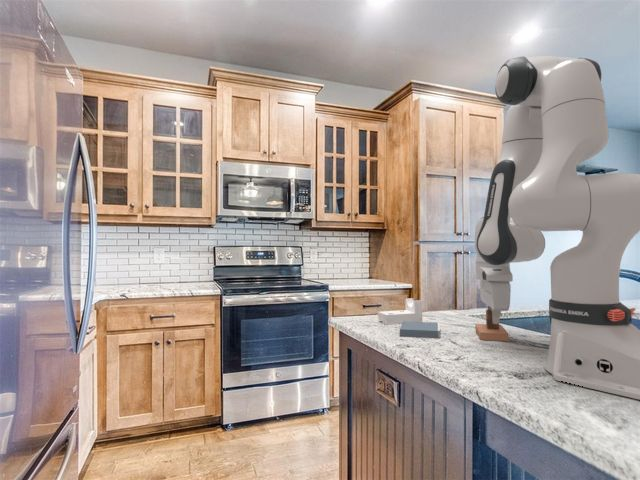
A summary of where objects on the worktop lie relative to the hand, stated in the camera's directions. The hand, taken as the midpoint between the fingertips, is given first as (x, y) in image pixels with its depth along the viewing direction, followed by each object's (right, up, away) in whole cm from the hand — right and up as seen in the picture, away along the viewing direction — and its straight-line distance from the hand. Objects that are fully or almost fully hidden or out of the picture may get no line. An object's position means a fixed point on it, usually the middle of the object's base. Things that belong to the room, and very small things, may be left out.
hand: (494, 322), depth 107 cm
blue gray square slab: (-19, -4, +6) cm, 21 cm away
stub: (-1, -4, 0) cm, 4 cm away
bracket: (-22, -5, +23) cm, 32 cm away
